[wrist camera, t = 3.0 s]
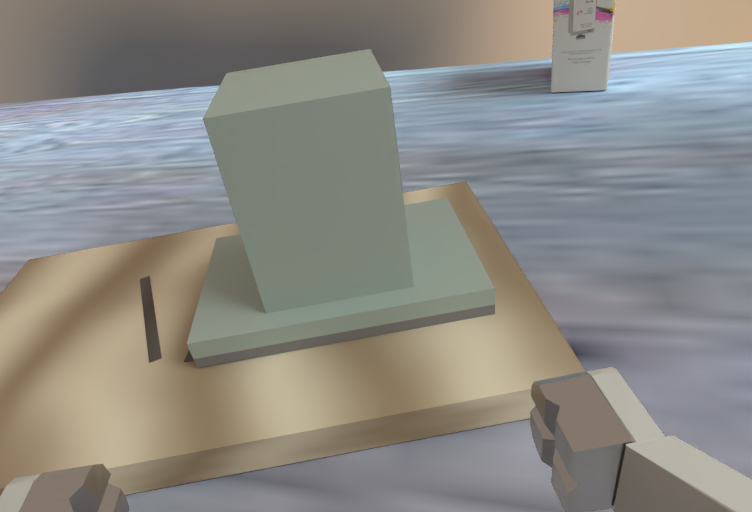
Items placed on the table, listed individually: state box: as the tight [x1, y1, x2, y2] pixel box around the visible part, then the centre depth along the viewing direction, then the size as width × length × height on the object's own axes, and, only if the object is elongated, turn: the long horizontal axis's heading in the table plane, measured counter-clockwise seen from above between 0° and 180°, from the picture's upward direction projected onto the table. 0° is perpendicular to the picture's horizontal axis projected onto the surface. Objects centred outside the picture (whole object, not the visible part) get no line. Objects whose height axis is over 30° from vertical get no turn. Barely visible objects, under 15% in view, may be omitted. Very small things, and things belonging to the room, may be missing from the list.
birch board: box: [0, 182, 586, 496], centre depth 24 cm, size 26×16×2 cm, turn 97°
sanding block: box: [187, 49, 495, 368], centre depth 22 cm, size 12×8×9 cm, turn 97°
